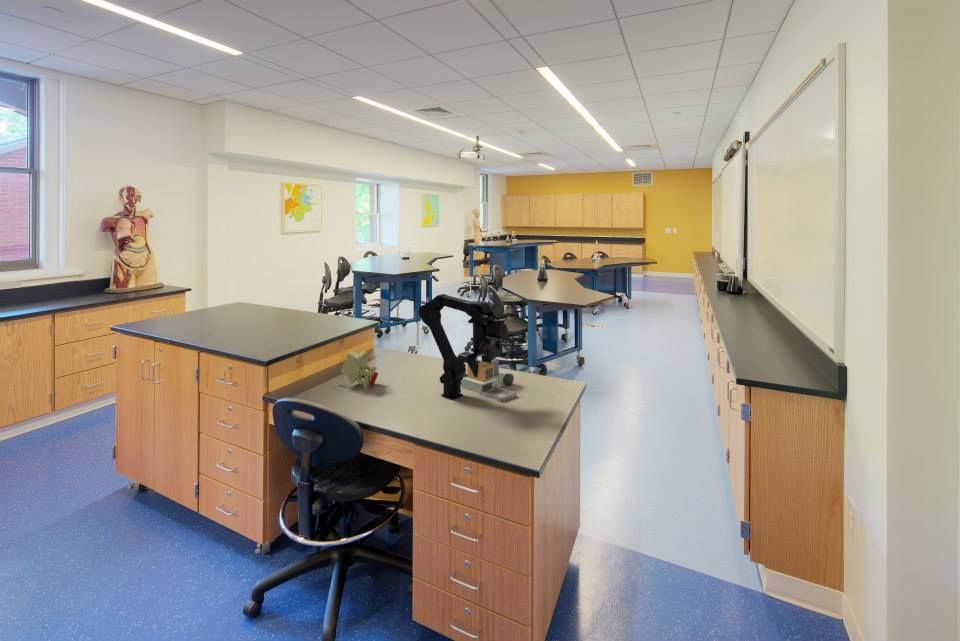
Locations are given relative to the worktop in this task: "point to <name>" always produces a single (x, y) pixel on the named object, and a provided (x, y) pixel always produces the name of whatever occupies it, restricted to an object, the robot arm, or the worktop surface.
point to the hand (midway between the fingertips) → (480, 375)
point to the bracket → (510, 395)
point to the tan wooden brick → (483, 372)
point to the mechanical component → (359, 369)
